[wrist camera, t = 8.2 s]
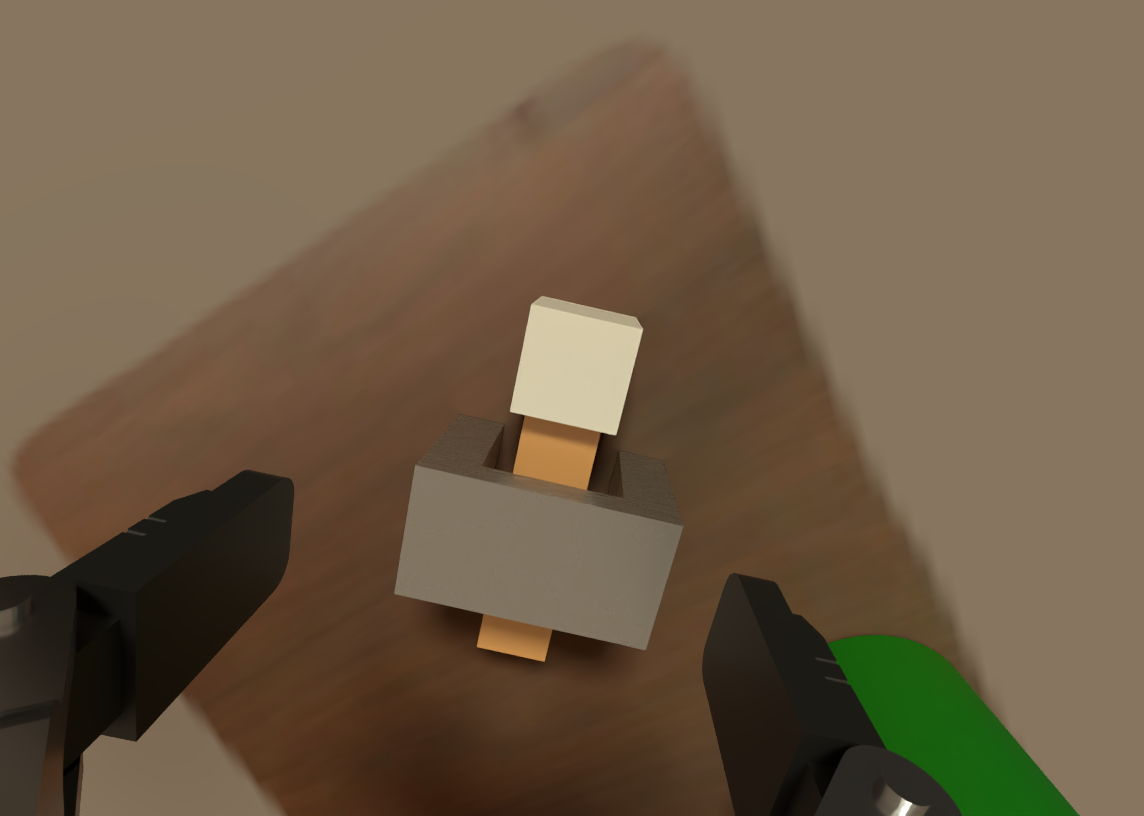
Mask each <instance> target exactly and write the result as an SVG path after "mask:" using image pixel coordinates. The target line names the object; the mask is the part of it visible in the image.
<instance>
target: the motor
mask: <svg viewBox="0 0 1144 816" xmlns="http://www.w3.org/2000/svg"><path fill="white" fill-rule="evenodd" d="M828 646H829V648H830V649H831V651H832V653H833V655H834V656H835V658H836V660H837V661H836V664H837V665H840V667H841V669H842V671H843V672H844V674H845V676H846V678H847V679H848V681H847V684H849V685H851V686H852V688H853V690H854V692H855V694H856V695H857V697H858V699H859V701H860V702H861V704H862V706H863V708H864V709H865V711H866V713H867V715H868V717H869V718H870V720H871V722H872V724H873V725H874V727H875V729H876V731H877V732H878V734H879V736H880V738H881V740H882V741H883V743H884V745H885V747H886V748H887V750H889V751H892V752H894V753H896V754H898V755H900V756H902V757H904V758H906V759H908V760H909V761H911V762H913V763H914V764H915V765H917V766H918V767H920V768H921V769H923V770H924V771H925V772H926V773H928V774H929V775H930V776H931V777H932V778H933V779H934V780H936V781H937V782H938V783H939V784H940V785H941V786H942V787H943V789H944V790H945V791H946V792H947V793H948V794H949V795H950V797H951V798H952V799H953V801H954V802H955V804H956V805H957V807H958V809H959V810H960V812H961V814H962V816H1080V815H1079V814H1078V813H1077V812H1076V811H1075V810H1074V809H1073V807H1072V806H1071V805H1070V804H1069V802H1068V801H1067V800H1066V799H1065V798H1064V797H1063V795H1062V794H1061V793H1060V792H1059V791H1058V790H1057V788H1056V787H1055V786H1054V785H1053V784H1052V782H1051V781H1050V780H1049V779H1048V778H1047V776H1046V775H1045V774H1044V773H1043V772H1042V770H1041V769H1040V768H1039V767H1038V766H1037V765H1036V763H1035V762H1034V761H1033V760H1032V759H1031V757H1030V756H1029V755H1028V754H1027V753H1026V752H1025V750H1024V749H1023V748H1022V747H1021V746H1020V744H1019V743H1018V742H1017V741H1016V740H1015V739H1014V737H1013V736H1012V735H1011V734H1010V733H1009V731H1008V730H1007V729H1006V728H1005V727H1004V726H1003V724H1002V723H1001V722H1000V721H999V720H998V718H997V717H996V716H995V715H994V714H993V712H992V711H991V710H990V709H989V708H988V707H987V705H986V704H985V703H984V702H983V701H982V699H981V698H980V697H979V696H978V695H977V694H976V692H975V691H974V690H973V689H972V688H971V686H970V685H969V684H968V683H967V682H966V681H965V679H964V678H963V677H962V676H961V675H960V673H959V672H958V671H957V670H956V669H955V668H954V666H953V665H952V664H951V663H950V662H949V661H948V660H946V659H945V658H944V657H943V656H941V655H940V654H939V653H937V652H936V651H934V650H932V649H930V648H929V647H927V646H924V645H922V644H920V643H917V642H915V641H911V640H908V639H904V638H899V637H893V636H884V635H867V636H857V637H851V638H846V639H842V640H838V641H835V642H831V643H829V644H828Z"/></svg>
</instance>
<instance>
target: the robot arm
mask: <svg viewBox="0 0 1144 816" xmlns="http://www.w3.org/2000/svg"><path fill="white" fill-rule="evenodd" d="M293 500H294V485H293V482H292V480H291V479H289V478H285V477H281V476H276V475H271V474H266V473H262V472H257V471H252V470H244V471H242V472H240V473H239V474H237V475H236V476H234V477H232V478H231V479H229V480H228V481H226V482H225V483H223V484H222V485H220V486H219V487H217V488H216V489H214V490H213V491H210V490H204V491H201V492H198V493H195V494H192V495H189V496H186V497H183V498H179V499H176V500H173V501H172V502H170V503H169V504H167V505H165V506H164V507H162V508H161V509H159V510H157V511H156V512H154V513H153V514H151V515H149V518H148V519H143V520H141V521H140V522H138V523H136V524H135V525H133V526H132V527H130V528H128V531H127V532H126V533H125V532H122V533H120V534H119V535H117V536H115V537H114V538H112V539H111V540H109V541H107V542H106V543H104V544H103V545H101V546H99V547H98V548H96V549H95V550H93V551H91V552H90V553H88V554H86V555H85V556H83V557H82V558H80V559H78V560H77V561H75V562H74V563H72V564H70V565H69V566H67V567H66V568H64V569H62V570H61V571H59V572H57V573H56V574H54V575H53V576H51V577H50V576H42V575H18V576H8V577H2V578H0V816H79V813H80V801H81V790H82V779H83V752H84V751H85V749H87V748H88V747H89V746H90V745H91V744H92V742H94V741H95V740H96V739H97V738H98V737H99V736H100V735H106V736H111V737H116V738H120V739H125V740H131V741H135V742H136V741H137V740H138V739H139V738H140V737H141V736H142V735H143V734H144V733H145V732H146V730H147V729H148V728H149V727H150V726H151V725H152V724H153V723H154V722H155V721H156V720H157V718H158V717H159V716H160V715H161V714H162V713H163V712H164V711H165V710H166V708H167V707H168V706H169V705H170V704H171V703H172V702H173V701H174V700H175V699H176V698H177V697H178V696H179V694H180V693H181V692H182V691H183V690H184V689H185V688H186V687H187V686H188V685H189V684H190V682H191V681H192V680H193V679H194V678H195V677H196V676H197V675H198V674H199V673H200V671H201V670H202V669H203V668H204V667H205V666H206V665H207V664H208V663H209V662H210V661H211V659H212V658H213V657H214V656H215V655H216V654H217V653H218V652H219V651H220V650H221V649H222V647H223V646H224V645H225V644H226V643H227V642H228V641H229V640H230V639H231V638H232V637H233V635H234V634H235V633H236V632H237V631H238V630H239V629H240V628H241V627H242V626H243V624H244V623H245V622H246V621H247V620H248V619H249V618H250V617H251V616H252V615H253V614H254V612H255V611H256V610H257V609H258V608H259V607H260V606H261V605H262V604H263V603H264V602H265V600H266V599H267V598H268V597H269V596H270V595H271V594H272V593H273V592H274V590H275V589H276V588H277V586H278V585H279V583H280V581H281V579H282V577H283V575H284V572H285V570H286V567H287V563H288V559H289V550H290V538H291V525H292V513H293ZM836 661H837V660H836V658H835V656H834V655H833V653H832V651H831V649H830V648H829V646H828V644H827V642H826V640H825V639H824V637H823V636H822V635H821V634H820V633H819V632H818V631H817V630H816V629H815V628H814V627H813V626H812V625H810V624H809V623H808V622H807V621H806V620H805V619H804V618H803V617H802V616H801V615H796V614H792V612H791V610H790V608H789V606H788V604H787V602H786V600H785V598H784V596H783V594H782V593H781V591H780V589H779V587H778V585H777V584H776V583H775V582H774V581H770V580H765V579H760V578H755V577H751V576H746V575H741V574H736V573H733V574H731V575H730V576H729V578H728V579H727V581H726V584H725V586H724V589H723V592H722V595H721V598H720V601H719V604H718V608H717V611H716V614H715V617H714V620H713V623H712V626H711V629H710V632H709V635H708V638H707V641H706V644H705V648H704V654H703V664H702V672H703V681H704V686H705V690H706V694H707V698H708V702H709V707H710V711H711V715H712V719H713V723H714V728H715V732H716V736H717V740H718V744H719V749H720V753H721V757H722V761H723V765H724V769H725V774H726V778H727V782H728V786H729V790H730V795H731V799H732V803H733V807H734V811H735V816H962V814H961V812H960V810H959V809H958V807H957V805H956V804H955V802H954V801H953V799H952V798H951V797H950V795H949V794H948V793H947V792H946V791H945V790H944V789H943V787H942V786H941V785H940V784H939V783H938V782H937V781H936V780H934V779H933V778H932V777H931V776H930V775H929V774H928V773H926V772H925V771H924V770H923V769H921V768H920V767H918V766H917V765H915V764H914V763H913V762H911V761H909V760H908V759H906V758H904V757H902V756H900V755H898V754H896V753H894V752H892V751H889V750H887V748H886V747H885V745H884V743H883V741H882V740H881V738H880V736H879V734H878V732H877V731H876V729H875V727H874V725H873V724H872V722H871V720H870V718H869V717H868V715H867V713H866V711H865V709H864V708H863V706H862V704H861V702H860V701H859V699H858V697H857V695H856V694H855V692H854V690H853V688H852V686H851V685H849V684H847V681H848V679H847V678H846V676H845V674H844V672H843V671H842V669H841V667H840V665H837V664H836Z"/></svg>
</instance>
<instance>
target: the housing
mask: <svg viewBox="0 0 1144 816" xmlns="http://www.w3.org/2000/svg"><path fill="white" fill-rule="evenodd" d="M503 427H504V424H500V423H496V422H492V421H487V420H483V419H478V418H474V417H470V416H465V415H461V414H459V416H458V417H457V418H456V419H455V420H454V421H453V423H452V424H451V425H450V426H449V427H448V428H447V429H446V431H445V432H444V433H443V434H442V435H441V436H440V437H439V439H438V440H437V441H436V442H435V443H434V444H433V446H432V447H431V448H430V449H429V450H428V451H427V452H426V454H425V455H424V456H423V457H422V458H421V459H420V460H419V462H418V463H417V464H416V465H415V470H414V476H413V482H412V489H411V495H410V501H409V507H408V513H407V519H406V525H405V531H404V538H403V544H402V550H401V556H400V562H399V568H398V574H397V580H396V586H395V593H394V594H397V595H402V596H406V597H411V598H415V599H420V600H424V601H429V602H433V603H438V604H442V605H447V606H451V607H455V608H460V609H464V610H469V611H473V612H478V613H482V614H487V615H491V616H496V617H500V618H504V619H509V620H513V621H518V622H522V623H527V624H531V625H536V626H540V627H545V628H549V629H554V630H558V631H562V632H567V633H571V634H576V635H580V636H585V637H589V638H594V639H598V640H603V641H607V642H612V643H616V644H620V645H625V646H629V647H634V648H638V649H643V650H646V648H647V644H648V641H649V638H650V635H651V631H652V628H653V625H654V621H655V618H656V615H657V611H658V608H659V605H660V601H661V598H662V595H663V592H664V588H665V585H666V582H667V578H668V575H669V572H670V568H671V565H672V562H673V559H674V555H675V552H676V549H677V545H678V542H679V539H680V535H681V532H682V529H683V524H682V520H681V517H680V514H679V511H678V507H677V504H676V501H675V498H674V494H673V491H672V488H671V484H670V481H669V478H668V475H667V471H666V468H665V465H664V462H663V461H662V460H658V459H653V458H649V457H645V456H640V455H636V454H631V453H627V452H623V451H619V453H618V457H617V461H616V465H615V468H614V472H613V476H612V480H611V484H610V488H609V491H608V495H606V494H602V493H598V492H593V491H589V490H584V489H580V488H576V487H571V486H567V485H562V484H558V483H554V482H549V481H545V480H540V479H536V478H532V477H527V476H523V475H519V474H514V473H510V472H505V471H501V470H497V469H495V467H496V462H497V457H498V452H499V447H500V442H501V437H502V432H503Z"/></svg>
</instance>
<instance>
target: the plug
mask: <svg viewBox="0 0 1144 816" xmlns="http://www.w3.org/2000/svg"><path fill="white" fill-rule="evenodd" d="M642 331H643V329H642V327H641V325H640V324H639V322H638V320H637V318H636V317H632V316H627V315H623V314H619V313H614V312H610V311H606V310H601V309H597V308H592V307H588V306H584V305H579V304H575V303H570V302H566V301H562V300H557V299H553V298H549V297H544V296H542V297H540V298H539V299H538V300H536V301H535V302H534V303H532V304H531V309H530V314H529V319H528V324H527V329H526V334H525V339H524V344H523V349H522V354H521V359H520V364H519V369H518V374H517V379H516V384H515V389H514V394H513V399H512V404H511V409H510V412H513V413H518V414H522V415H525V417H524V422H523V427H522V432H521V437H520V441H519V446H518V451H517V456H516V461H515V466H514V470H513V473H514V474H519V475H523V476H527V477H532V478H536V479H540V480H545V481H549V482H554V483H558V484H562V485H567V486H571V487H576V488H580V489H584V490H587V487H588V483H589V479H590V474H591V470H592V466H593V462H594V458H595V454H596V450H597V446H598V442H599V438H600V434H601V432H602V433H607V434H611V435H616V434H617V430H618V426H619V422H620V418H621V414H622V410H623V406H624V402H625V399H626V395H627V391H628V387H629V383H630V379H631V375H632V371H633V367H634V363H635V359H636V355H637V351H638V347H639V343H640V339H641V335H642ZM551 633H552V629H549V628H545V627H540V626H536V625H531V624H527V623H522V622H518V621H513V620H509V619H504V618H500V617H496V616H491V615H487V614H484V615H483V620H482V624H481V629H480V634H479V639H478V644H477V647H479V648H484V649H489V650H493V651H498V652H502V653H507V654H511V655H516V656H521V657H525V658H530V659H534V660H539V661H543V662H545V658H546V653H547V649H548V645H549V641H550V637H551Z"/></svg>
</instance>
